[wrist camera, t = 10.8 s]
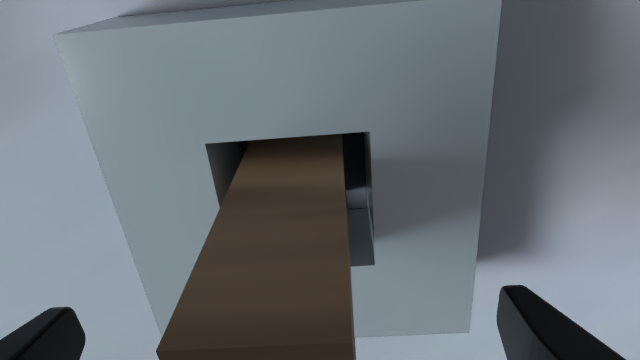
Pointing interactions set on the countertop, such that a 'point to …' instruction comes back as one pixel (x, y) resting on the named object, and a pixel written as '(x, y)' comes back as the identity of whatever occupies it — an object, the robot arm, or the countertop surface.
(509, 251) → the countertop surface
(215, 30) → the holder
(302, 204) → the peg
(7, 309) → the countertop surface
